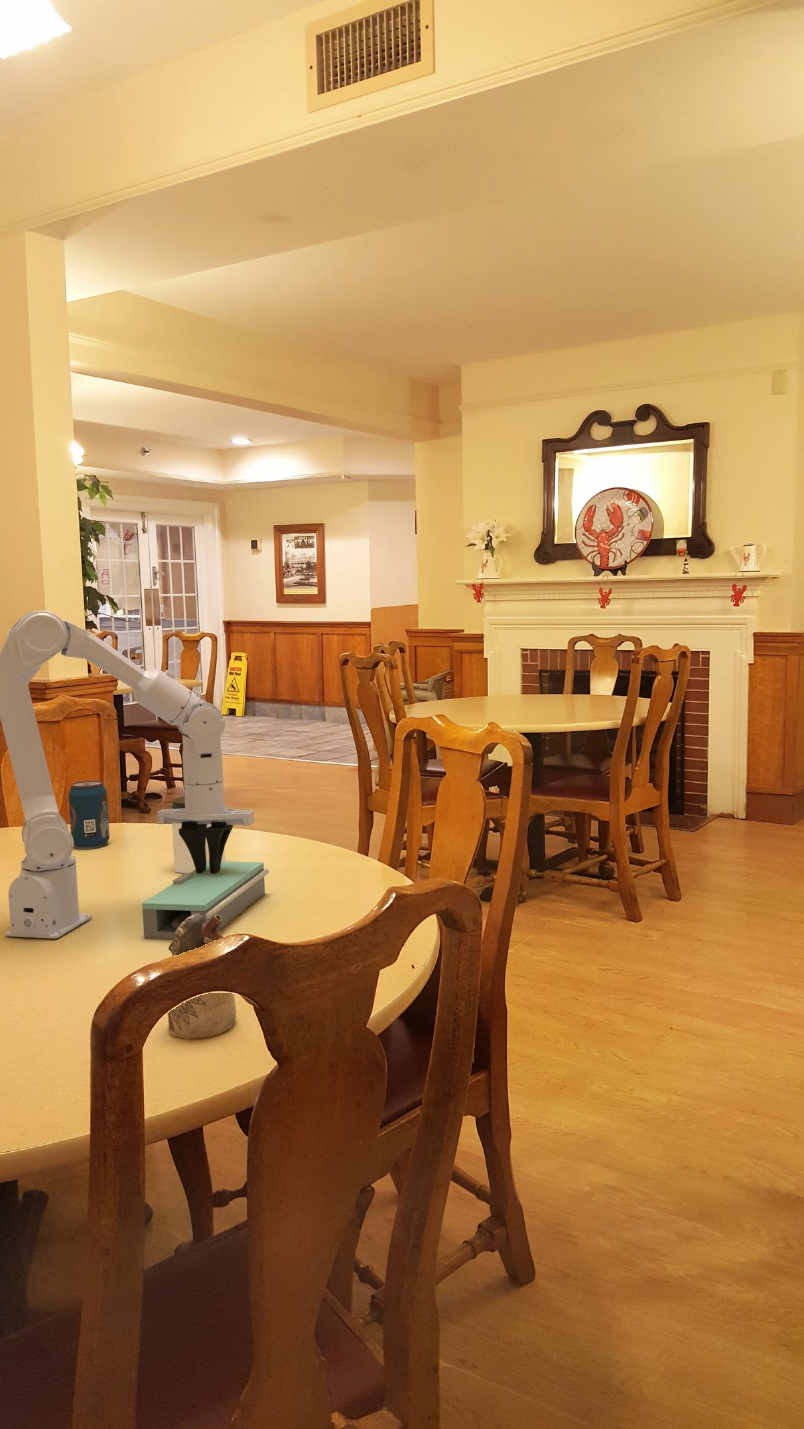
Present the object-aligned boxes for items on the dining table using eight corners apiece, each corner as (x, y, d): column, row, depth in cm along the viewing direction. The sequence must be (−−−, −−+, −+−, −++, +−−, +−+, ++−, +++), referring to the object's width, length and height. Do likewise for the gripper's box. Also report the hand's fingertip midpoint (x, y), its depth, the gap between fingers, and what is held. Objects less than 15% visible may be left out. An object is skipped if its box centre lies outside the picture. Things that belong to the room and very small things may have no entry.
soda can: (71, 843, 190) (67, 781, 189) (109, 839, 192) (105, 778, 191) (71, 851, 184) (67, 787, 183) (110, 847, 186) (106, 784, 185)
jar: (180, 862, 174) (177, 794, 172) (227, 860, 174) (224, 793, 173) (170, 876, 165) (166, 804, 163) (220, 874, 165) (216, 803, 164)
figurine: (189, 1008, 110) (183, 902, 108) (247, 1014, 108) (242, 906, 106) (154, 1035, 103) (148, 923, 102) (217, 1042, 101) (211, 927, 100)
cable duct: (212, 941, 132) (210, 912, 131) (144, 938, 134) (142, 909, 133) (269, 893, 153) (268, 868, 153) (210, 891, 155) (209, 866, 155)
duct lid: (204, 911, 131) (204, 900, 131) (142, 908, 133) (141, 898, 133) (263, 867, 153) (263, 858, 153) (209, 866, 155) (208, 857, 155)
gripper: (259, 777, 149) (263, 866, 151) (170, 776, 152) (175, 863, 154) (242, 786, 142) (246, 878, 144) (148, 785, 145) (154, 875, 147)
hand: (208, 871), depth 148 cm, fingers closed
